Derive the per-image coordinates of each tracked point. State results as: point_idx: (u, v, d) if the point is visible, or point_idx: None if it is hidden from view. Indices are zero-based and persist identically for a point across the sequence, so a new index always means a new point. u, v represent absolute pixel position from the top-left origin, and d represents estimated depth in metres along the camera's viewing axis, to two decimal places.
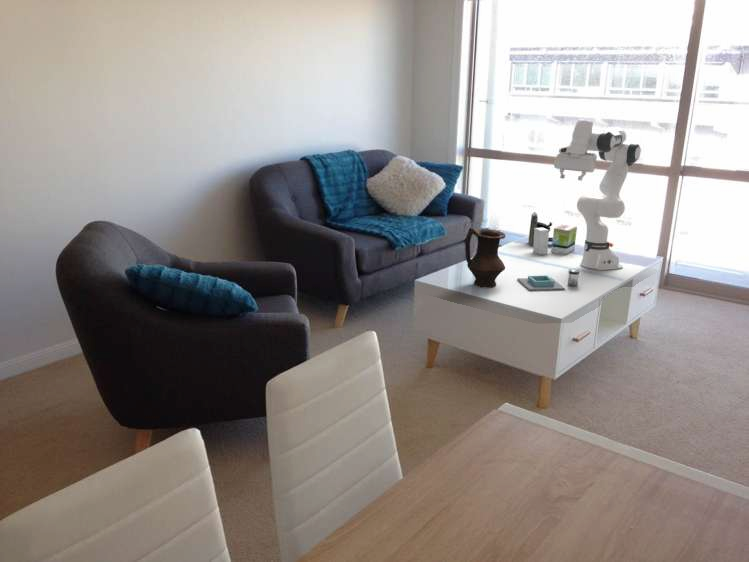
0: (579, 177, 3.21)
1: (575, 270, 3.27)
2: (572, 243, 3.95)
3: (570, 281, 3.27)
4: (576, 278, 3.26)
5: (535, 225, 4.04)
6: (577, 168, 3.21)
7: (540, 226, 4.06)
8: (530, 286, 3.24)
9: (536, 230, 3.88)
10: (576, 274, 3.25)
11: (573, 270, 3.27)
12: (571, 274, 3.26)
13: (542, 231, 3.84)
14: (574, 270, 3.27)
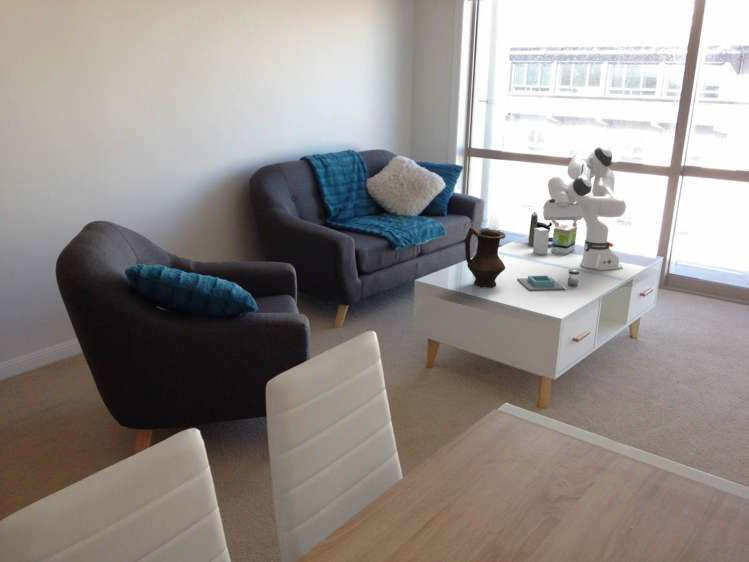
0: (574, 223, 3.35)
1: (575, 270, 3.27)
2: (572, 243, 3.95)
3: (570, 281, 3.27)
4: (576, 278, 3.26)
5: (535, 225, 4.04)
6: (570, 215, 3.36)
7: (540, 226, 4.06)
8: (530, 286, 3.24)
9: (536, 230, 3.88)
10: (576, 274, 3.25)
11: (573, 270, 3.27)
12: (571, 274, 3.26)
13: (542, 231, 3.84)
14: (574, 270, 3.27)
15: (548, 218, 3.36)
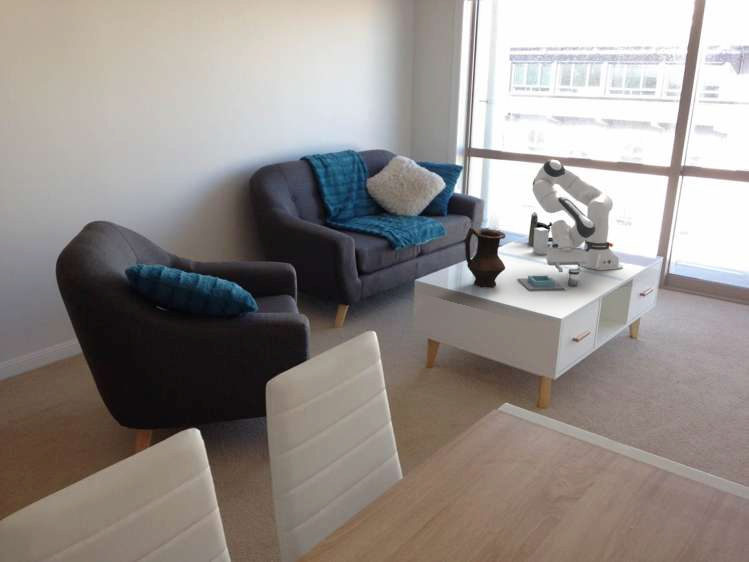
0: (579, 268, 3.28)
1: (575, 270, 3.27)
2: None
3: (570, 281, 3.27)
4: (576, 278, 3.26)
5: (535, 225, 4.04)
6: (574, 260, 3.30)
7: (540, 226, 4.06)
8: (530, 286, 3.24)
9: (536, 230, 3.88)
10: (576, 274, 3.25)
11: (573, 270, 3.27)
12: (571, 274, 3.26)
13: (542, 231, 3.84)
14: (574, 270, 3.27)
15: (551, 263, 3.29)
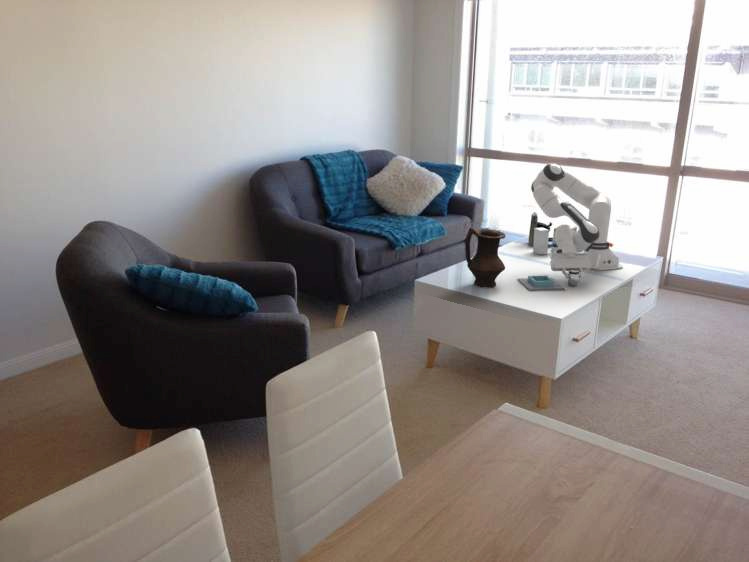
0: (580, 274, 3.28)
1: (575, 270, 3.27)
2: None
3: (570, 281, 3.27)
4: (576, 278, 3.26)
5: (535, 225, 4.04)
6: (578, 266, 3.29)
7: (540, 226, 4.06)
8: (530, 286, 3.24)
9: (536, 230, 3.88)
10: (576, 274, 3.25)
11: (573, 270, 3.27)
12: (571, 273, 3.26)
13: (542, 231, 3.84)
14: (574, 270, 3.27)
15: (555, 269, 3.28)
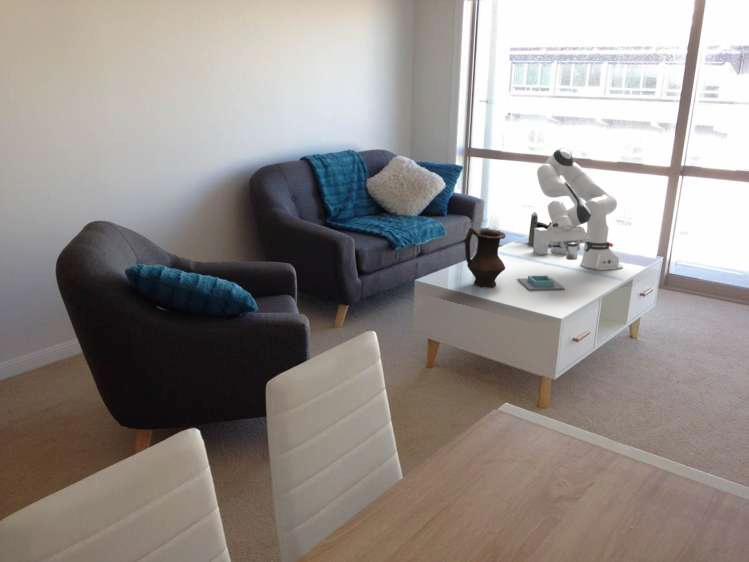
0: (578, 246, 3.21)
1: (573, 242, 3.20)
2: None
3: (569, 254, 3.20)
4: (575, 250, 3.19)
5: (535, 225, 4.04)
6: (575, 239, 3.22)
7: (540, 226, 4.06)
8: (530, 286, 3.24)
9: (536, 230, 3.88)
10: (575, 246, 3.18)
11: (571, 242, 3.20)
12: (570, 246, 3.19)
13: (542, 231, 3.84)
14: (572, 242, 3.20)
15: (553, 243, 3.21)
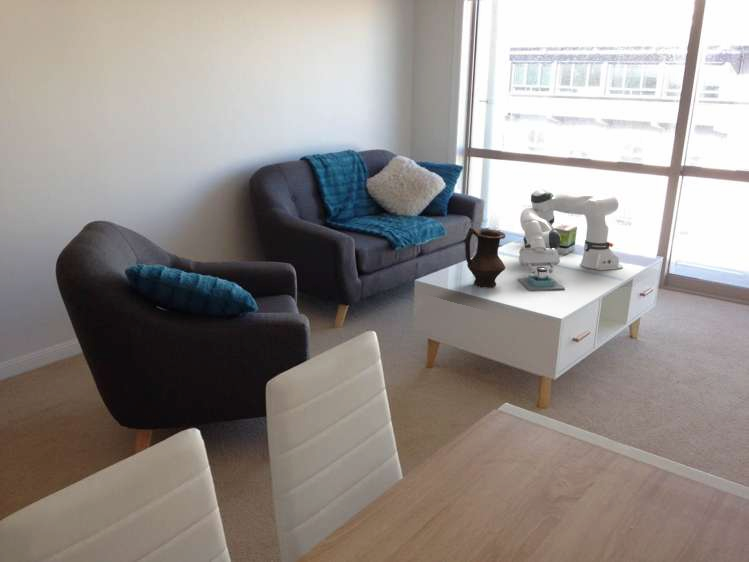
0: (551, 269, 3.27)
1: (543, 268, 3.26)
2: (572, 243, 3.95)
3: (538, 279, 3.26)
4: (544, 276, 3.25)
5: None
6: (546, 261, 3.28)
7: None
8: (530, 286, 3.24)
9: None
10: (544, 272, 3.25)
11: (541, 268, 3.26)
12: (539, 271, 3.25)
13: None
14: (542, 268, 3.26)
15: (524, 264, 3.28)
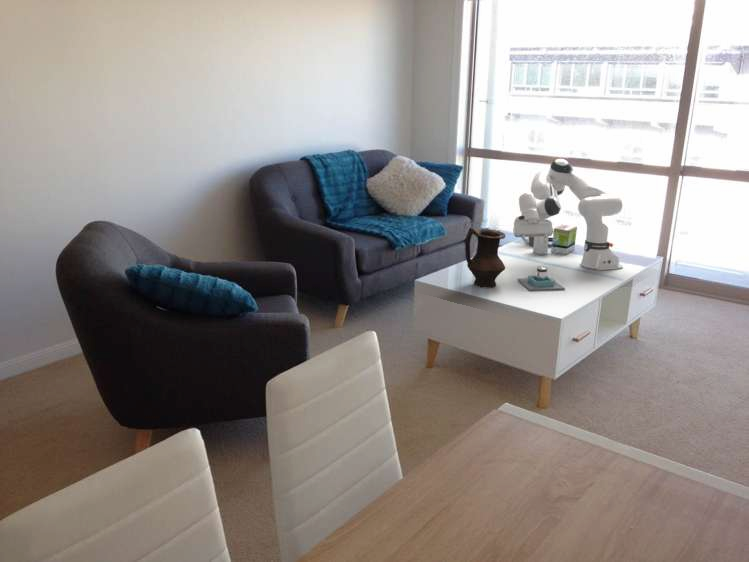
0: (544, 239, 3.34)
1: (543, 268, 3.26)
2: (572, 243, 3.95)
3: (538, 279, 3.26)
4: (544, 276, 3.25)
5: None
6: (540, 232, 3.35)
7: None
8: (530, 286, 3.24)
9: None
10: (544, 272, 3.25)
11: (541, 268, 3.26)
12: (539, 271, 3.25)
13: None
14: (542, 268, 3.26)
15: (517, 235, 3.35)
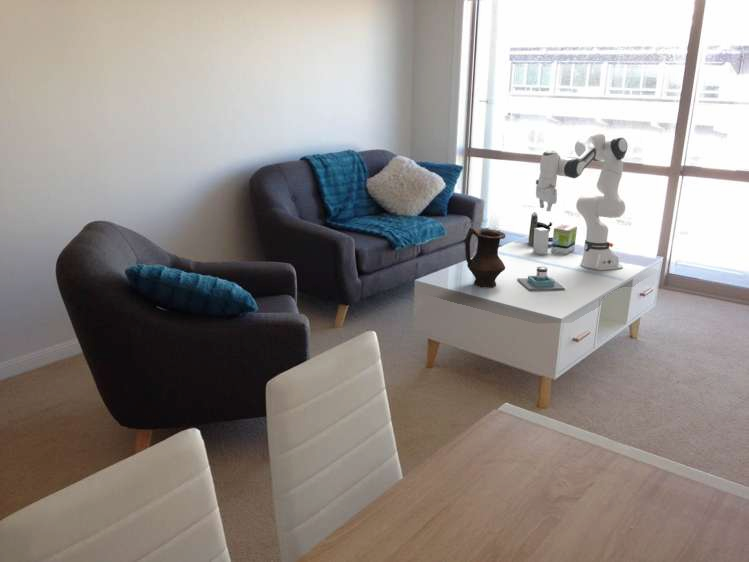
0: None
1: (543, 268, 3.26)
2: (572, 243, 3.95)
3: (538, 279, 3.26)
4: (544, 276, 3.25)
5: (535, 225, 4.04)
6: (544, 200, 3.38)
7: (540, 226, 4.06)
8: (530, 286, 3.24)
9: (536, 230, 3.88)
10: (544, 272, 3.25)
11: (541, 268, 3.26)
12: (539, 271, 3.25)
13: (542, 231, 3.84)
14: (542, 268, 3.26)
15: None
